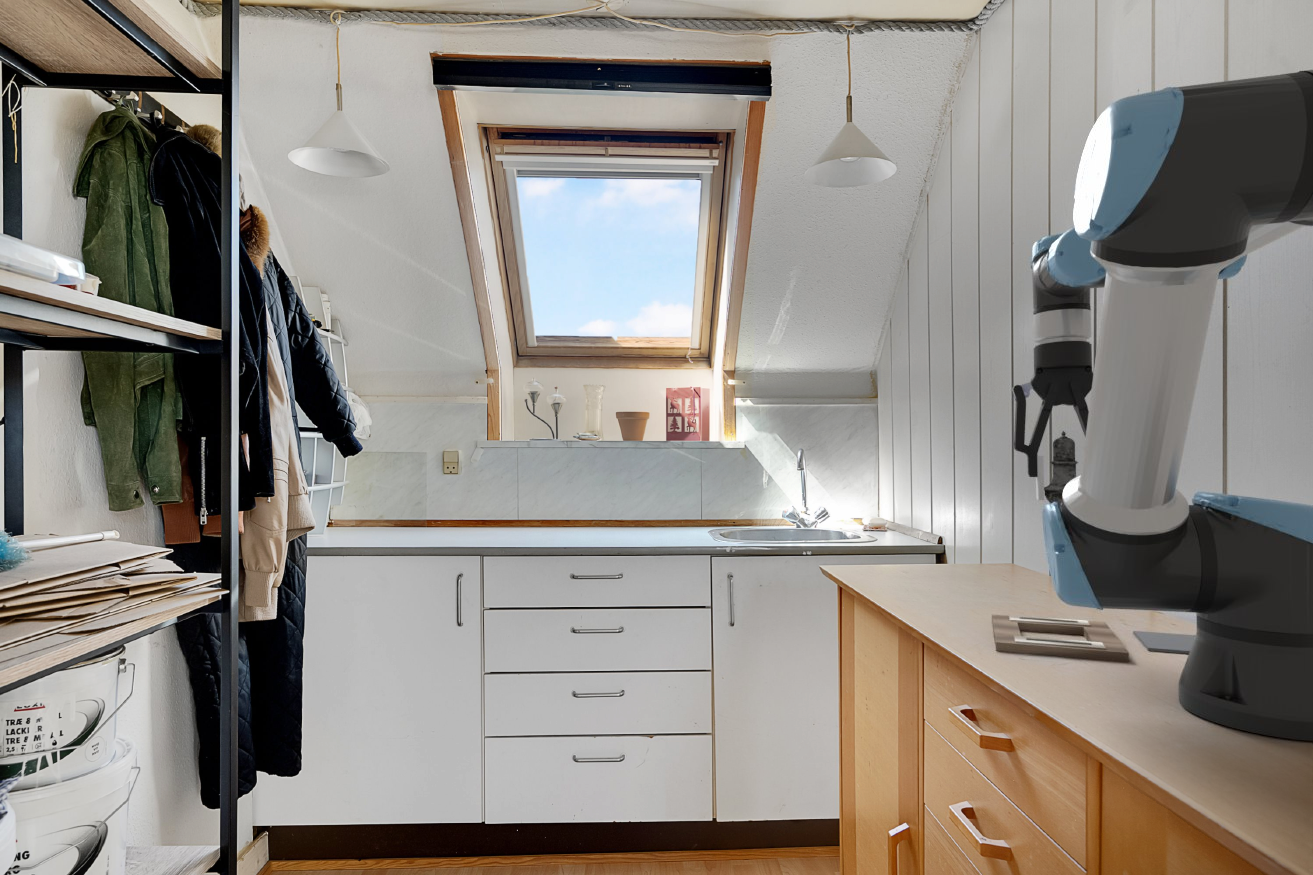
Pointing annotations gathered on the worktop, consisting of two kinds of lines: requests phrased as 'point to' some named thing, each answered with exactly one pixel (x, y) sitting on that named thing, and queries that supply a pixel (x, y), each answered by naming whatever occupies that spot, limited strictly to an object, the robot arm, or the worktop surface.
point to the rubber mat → (1166, 641)
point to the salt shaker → (1061, 468)
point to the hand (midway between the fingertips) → (1065, 499)
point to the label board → (1096, 634)
